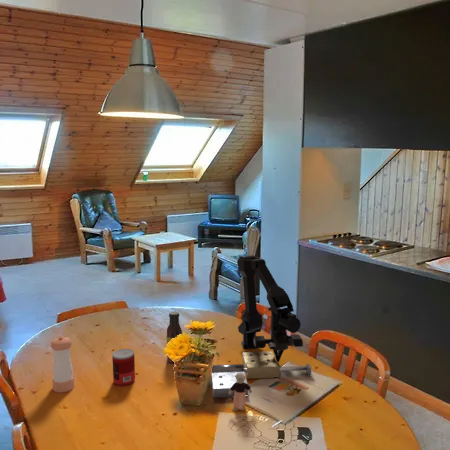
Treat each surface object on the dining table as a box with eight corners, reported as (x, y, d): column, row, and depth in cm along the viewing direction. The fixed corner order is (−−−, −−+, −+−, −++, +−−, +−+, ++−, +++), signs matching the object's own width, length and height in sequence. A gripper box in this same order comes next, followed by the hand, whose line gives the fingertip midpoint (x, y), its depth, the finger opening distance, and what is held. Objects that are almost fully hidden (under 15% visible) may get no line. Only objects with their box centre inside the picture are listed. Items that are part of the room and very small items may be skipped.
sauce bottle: (179, 364, 186) (179, 316, 183) (164, 363, 187) (163, 315, 184) (184, 357, 192) (183, 310, 189) (169, 356, 194) (169, 309, 190)
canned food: (139, 377, 175) (138, 350, 173) (127, 388, 168) (126, 359, 166) (121, 374, 178) (120, 347, 176) (109, 384, 170) (108, 356, 168)
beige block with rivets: (242, 359, 190) (242, 348, 189) (271, 358, 191) (271, 347, 190) (247, 378, 174) (247, 367, 173) (279, 377, 175) (279, 366, 174)
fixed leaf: (211, 375, 177) (210, 363, 177) (308, 371, 180) (308, 359, 180) (213, 397, 161) (213, 384, 160) (320, 393, 164) (320, 380, 163)
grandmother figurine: (231, 413, 151) (231, 376, 149) (227, 407, 155) (227, 371, 153) (253, 410, 154) (253, 373, 152) (249, 404, 157) (250, 368, 155)
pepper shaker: (54, 394, 163) (51, 342, 160) (51, 385, 170) (48, 334, 167) (76, 389, 167) (73, 338, 164) (72, 380, 173) (69, 331, 170)
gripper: (257, 332, 175) (257, 372, 177) (307, 331, 176) (305, 370, 179) (253, 322, 186) (253, 359, 188) (300, 320, 187) (299, 357, 190)
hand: (277, 361), depth 186 cm, fingers closed
